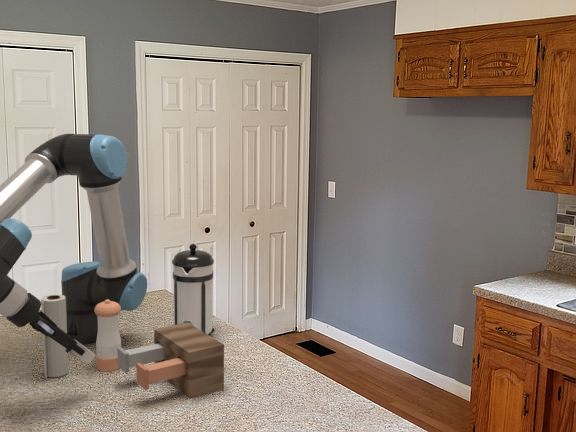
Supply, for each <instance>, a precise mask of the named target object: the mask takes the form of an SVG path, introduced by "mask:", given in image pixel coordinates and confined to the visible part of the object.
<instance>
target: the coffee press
mask: <svg viewBox="0 0 576 432" xmlns="http://www.w3.org/2000/svg"><path fill="white" fill-rule="evenodd" d="M188 248H189V250H188V249H187V250H183V251H180V252H177V253H176V255H174V258H173V259H172V261H171V263H172V265H173V266H172V268H173V271H172V279H173V325H177V324H181V323H182V321H184V320H191V321H192V324H191V325H192V326H194V327H196V328H197V329H199V330H201V331H202V332H204V333H206V334H207V335H209V334H210V333H211V334H213V333H214V332H215V328H214V326H213V294H214V293H213V289H214V288H213V286H214V285H213V279H214V269H213V268H214V267H213V266H214V263H215V259H214V258H213V257H212V255H211V254H210V253H209V252H207V251H205V250H199V249H197V248H198V247H197V244H195V243H191V244H190V245H189V247H188Z"/></svg>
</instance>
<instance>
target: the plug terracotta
mask: <svg viewBox="0 0 576 432" xmlns="http://www.w3.org/2000/svg"><path fill="white" fill-rule="evenodd" d="M135 368H136V369H135V370H136V371H135V372H136V374H135V375H136V376H135V377H136V379H135V380H136V383H137V385H138V386H140V387H141V388H142V390H145V391H147V390H149V389H150V385H152V384H156V383H159V382H163V381H167V380H168V379H172V378H176V377H180V376H183V375H186V361H185V360H184V359H182V358H181V357H180V358H176V359H172V360H168V361H163V362H159V363H155V362H154V363H152V364H151V363H150V364H148V365H145V364H143V365H142V364H141V363H136V366H135Z"/></svg>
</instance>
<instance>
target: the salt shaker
mask: <svg viewBox="0 0 576 432" xmlns="http://www.w3.org/2000/svg"><path fill="white" fill-rule="evenodd" d="M94 311H95V314H96V315H97V316H98V333H97V341H96V342H95V346H96V347H95V348H96V353H95V355H96V356H95V357H94V359H95V369H96V370H97V371H101V372H113V371H117V370H119V369H120V368H119V367H118V352H117V348H120V347H121V348H122V338H121V335H120V334H121V333H120V330H119V329H120V328H119V314H121V307H120V305H119V304H118V303H116V302H113V301H110V300H105V301H104V302H101V303H99V304H97V305H96V307H95V310H94ZM120 370H121V369H120Z"/></svg>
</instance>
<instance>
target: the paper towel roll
mask: <svg viewBox="0 0 576 432" xmlns="http://www.w3.org/2000/svg"><path fill="white" fill-rule="evenodd" d="M40 301H41V308H40V309H41V311H42V312H43V313H44V314H46V316H48V317H49V319H51V320H52V321H53V322H54V323H55V324H56V325H57V327H59V328H60V329H61V330H63V331H64V332H65V333H67V318H66V297H65V296H64V295H62V294H49V295H45V296H42V297H41V299H40ZM42 347H43V348H42V349H43V350H42V351H43V372H44V377H45V378H46V379H45V380H46V381H48V378H60V377H63V376H66V375H67V374H68V373H69V353H67V352H66V351H65V350H66V348H65V347H63V346H62V345H60V344H59V343H57V342H56V341H55V340H53V339H52V338H50V337H47V336H45V335H44V334H42Z"/></svg>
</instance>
